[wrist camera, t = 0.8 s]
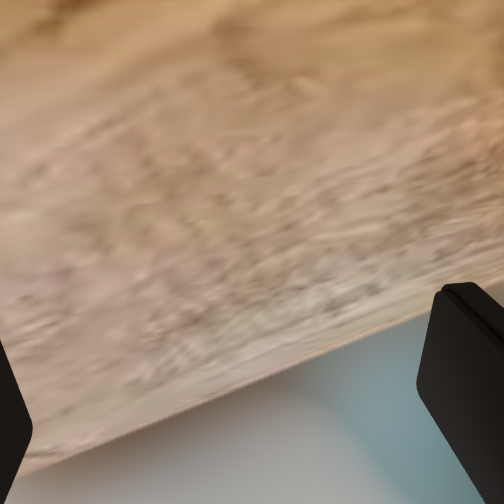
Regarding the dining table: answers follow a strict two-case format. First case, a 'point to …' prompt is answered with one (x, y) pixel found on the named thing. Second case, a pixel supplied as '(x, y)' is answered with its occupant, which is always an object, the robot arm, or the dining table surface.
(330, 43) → the dining table surface
